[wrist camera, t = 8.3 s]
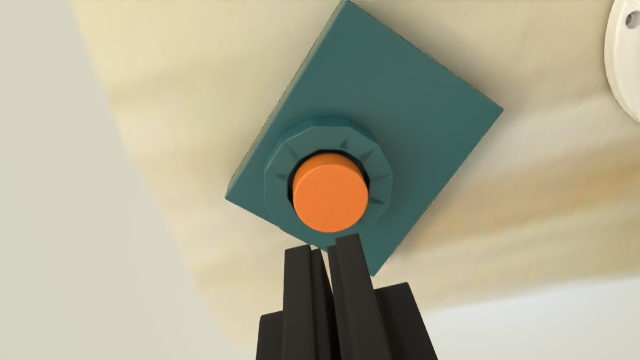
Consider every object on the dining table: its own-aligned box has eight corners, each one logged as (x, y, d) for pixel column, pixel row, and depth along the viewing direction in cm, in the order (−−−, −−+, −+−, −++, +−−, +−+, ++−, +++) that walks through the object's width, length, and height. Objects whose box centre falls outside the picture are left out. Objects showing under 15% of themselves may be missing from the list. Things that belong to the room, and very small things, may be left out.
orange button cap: (317, 139, 23) (319, 150, 21) (376, 174, 24) (383, 187, 22) (279, 196, 24) (279, 211, 23) (338, 228, 25) (341, 244, 23)
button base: (342, -2, 24) (352, -1, 20) (488, 100, 27) (520, 118, 23) (228, 183, 27) (219, 213, 24) (367, 258, 30) (379, 295, 26)
